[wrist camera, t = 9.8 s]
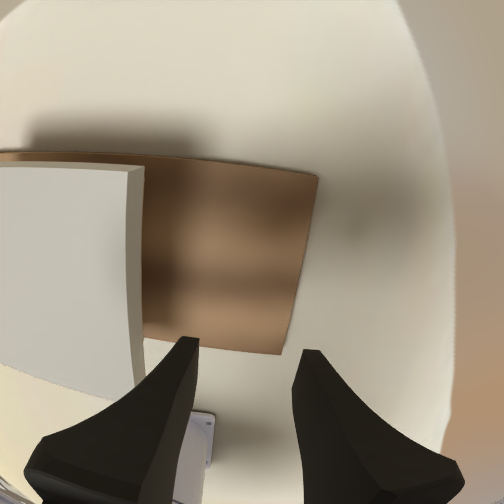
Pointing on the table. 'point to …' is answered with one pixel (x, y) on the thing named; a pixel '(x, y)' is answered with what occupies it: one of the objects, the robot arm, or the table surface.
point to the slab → (72, 274)
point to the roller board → (215, 247)
